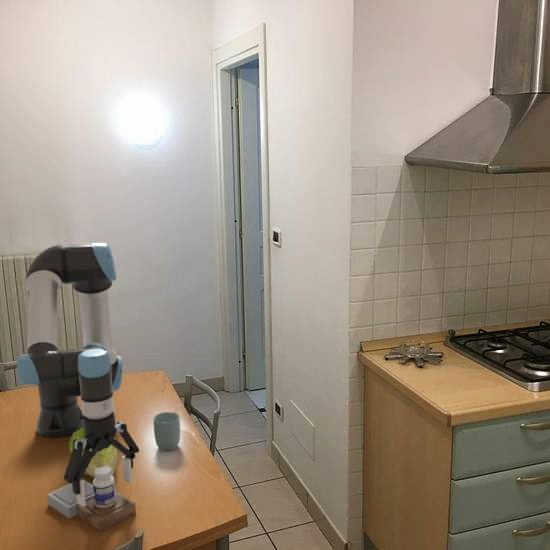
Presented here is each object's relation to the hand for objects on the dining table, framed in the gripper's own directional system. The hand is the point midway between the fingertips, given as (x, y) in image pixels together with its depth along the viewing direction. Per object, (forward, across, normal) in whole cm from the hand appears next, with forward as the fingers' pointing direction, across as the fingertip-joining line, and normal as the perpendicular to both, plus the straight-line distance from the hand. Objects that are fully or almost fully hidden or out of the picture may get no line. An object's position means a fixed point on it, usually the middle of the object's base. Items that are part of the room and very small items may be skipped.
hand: (105, 492), depth 157 cm
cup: (+6, +33, +16) cm, 37 cm away
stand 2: (+6, 0, 0) cm, 6 cm away
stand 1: (+6, -2, +11) cm, 13 cm away
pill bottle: (+3, 0, 0) cm, 3 cm away
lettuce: (+7, +12, +22) cm, 26 cm away
